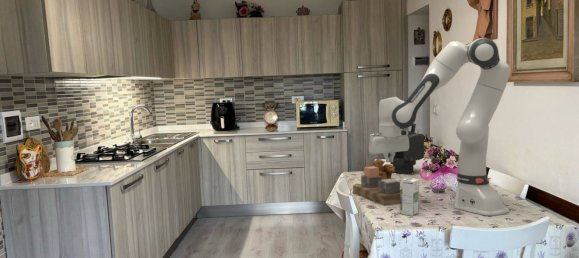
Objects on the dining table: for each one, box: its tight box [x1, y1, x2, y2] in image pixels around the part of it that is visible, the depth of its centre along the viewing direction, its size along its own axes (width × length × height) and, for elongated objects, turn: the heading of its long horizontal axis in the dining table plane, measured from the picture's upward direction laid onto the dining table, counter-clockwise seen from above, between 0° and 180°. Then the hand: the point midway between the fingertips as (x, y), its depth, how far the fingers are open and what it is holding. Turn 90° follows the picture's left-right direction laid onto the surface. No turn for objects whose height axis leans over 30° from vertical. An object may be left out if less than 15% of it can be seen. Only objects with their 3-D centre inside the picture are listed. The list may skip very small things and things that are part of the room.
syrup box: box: [399, 177, 420, 217], centre depth 181 cm, size 6×6×14 cm
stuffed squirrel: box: [371, 158, 395, 180], centre depth 242 cm, size 10×14×13 cm
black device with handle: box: [387, 123, 425, 175], centre depth 264 cm, size 15×18×30 cm
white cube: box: [381, 178, 398, 183], centre depth 202 cm, size 5×5×5 cm
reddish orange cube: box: [363, 165, 379, 178], centre depth 215 cm, size 5×5×5 cm
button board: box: [352, 174, 401, 206], centre depth 209 cm, size 26×14×9 cm, turn 24°
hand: (389, 162), depth 201 cm, fingers closed
